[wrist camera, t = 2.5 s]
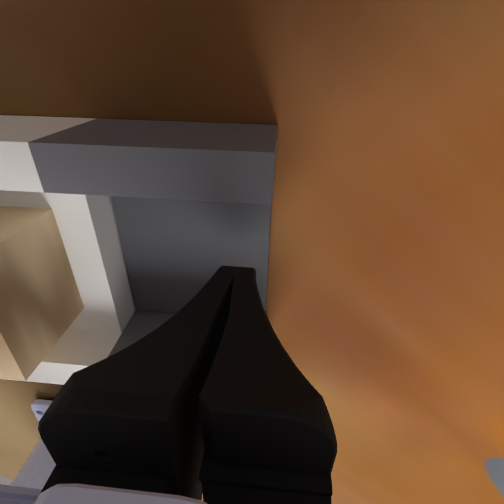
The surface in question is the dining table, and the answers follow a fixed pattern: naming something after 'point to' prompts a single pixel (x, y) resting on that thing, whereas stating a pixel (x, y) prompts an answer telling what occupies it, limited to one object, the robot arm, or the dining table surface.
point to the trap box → (102, 211)
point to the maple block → (32, 289)
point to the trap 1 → (188, 246)
